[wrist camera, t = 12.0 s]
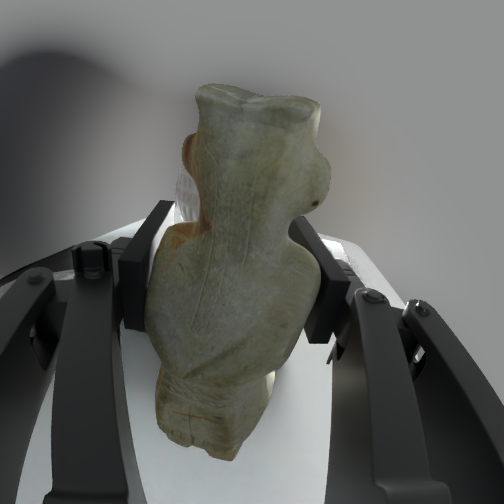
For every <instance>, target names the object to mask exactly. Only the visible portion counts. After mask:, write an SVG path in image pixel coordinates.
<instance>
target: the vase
mask: <svg viewBox="0 0 504 504" xmlns="http://www.w3.org/2000/svg"><path fill="white" fill-rule="evenodd" d="M176 203H177V207H178V211H179V214H180V217H181V219H182V221H183V222H193V221H198V218H199V211H200V199H199V193H198V190H197V186H196V184H195V181H194V180H193V178H192V177H191V176H190V175H189V174H188V172H187V171H186V169H185V167H184V165H183V164H182V166H181V169H180V171H179V174H178V179H177V184H176Z"/></svg>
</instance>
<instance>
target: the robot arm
mask: <svg viewBox="0 0 504 504" xmlns="http://www.w3.org/2000/svg"><path fill="white" fill-rule="evenodd" d="M174 209H175V201H165V200H160V201H159V203H158V204H157V205H156V207H155V208H154V209H153V211H152V212H151V213H150V215H149V216H148V217H147V219H146V220H145V221H144V223H143V224H142V226H141V227H140V228H139V230H138V231H137V232H136V234H135V235H134V237H133V238H127V237H120V238H118V239H116V240H114V241H113V242H112V243H111V244H110V245H109V244H108V243H106V242H102V241H86V242H83V243H80V244H78V245H76V246H74V248H73V249H72V258H73V266H74V273H75V275H74V278H73V279H69V280H54V277H53V272H52V271H51V270H50V269H49V268H45V267H35V268H30V269H29V270H27V271H25V272H24V273H22V274H21V275H20V276H19V277H18V278H17V280H16V281H15V282H14V283H13V284H12V285H11V287H10V288H9V289H8V290H7V291H6V292H5V294H4V295H3V296H2V297H1V299H0V504H15V502H16V497H17V491H18V486H19V481H20V477H21V473H22V468H23V464H24V460H25V457H26V453H27V449H28V446H29V442H30V439H31V435H32V432H33V429H34V426H35V423H36V420H37V417H38V414H39V411H40V408H41V405H42V402H43V400H44V397H45V394H46V392H47V389H48V386H49V384H50V381H51V379H52V376H53V374H54V371H55V369H56V372H55V381H54V391H53V404H52V425H51V460H52V479H53V483H52V490H51V491H50V492H49V493H48V494H46V495H45V497H44V500H43V504H147V502H146V498H145V494H144V490H143V487H142V482H141V478H140V474H139V470H138V465H137V460H136V455H135V450H134V445H133V439H132V434H131V428H130V421H129V415H128V407H127V400H126V391H125V382H124V371H123V359H122V344H121V332H120V323H121V321H122V318H123V320H124V327H125V329H129V330H136V331H143V332H145V330H146V327H145V322H144V307H145V300H146V295H147V290H148V284H149V279H150V276H151V271H152V265H153V259H154V255H155V253H156V250H157V248H158V246H159V244H160V241H161V239H162V237H163V235H164V233H165V231H166V229H167V228H168V227H169V226H172V225H174ZM288 236H289V238H290V239H291V240H292V241H293V242H295V243H297V244H299V245H300V246H302V247H304V248H305V249H306V250H308V251H309V252H310V253H311V254H312V255H313V256H314V257H315V258H316V260H317V262H318V264H319V266H320V271H321V285H320V290H319V293H318V296H317V298H316V301H315V303H314V306H313V308H312V310H311V311H310V313H309V315H308V318H307V320H306V322H305V325H304V330H305V333H306V336H307V339H308V342H309V344H328V342H329V340H330V337H331V335H332V332H334V335H335V337H336V341H335V344H334V346H333V348H332V351H331V353H330V355H329V358H328V360H327V363H326V364H329V363H330V361H331V360H332V359H333V366H332V413H331V434H330V449H329V463H328V474H327V485H326V494H325V503H324V504H504V405H503V404H502V402H501V401H500V399H499V397H498V396H497V394H496V393H495V391H494V389H493V388H492V386H491V385H490V383H489V382H488V380H487V379H486V377H485V376H484V374H483V373H482V372H481V370H480V369H479V367H478V366H477V364H476V363H475V362H474V360H473V359H472V357H471V356H470V354H469V353H468V352H467V350H466V349H465V348H464V346H463V345H462V344H461V342H460V341H459V340H458V338H457V337H456V336H455V335H454V333H453V332H452V330H451V329H450V328H449V327H448V325H447V324H446V323H445V321H444V320H443V319H442V318H441V316H440V315H439V314H438V313H437V311H436V310H435V309H434V308H433V307H432V306H430V305H429V304H428V303H427V302H425V301H424V302H423V301H422V300H416V299H414V300H410V301H408V303H407V305H406V307H405V309H399V308H395V307H391V306H390V304H389V301H388V299H387V298H386V297H385V296H384V295H383V294H382V293H380V292H378V291H376V290H374V289H370V288H366V287H365V286H364V285H363V283H362V282H361V281H360V279H359V278H358V276H356V274H355V272H354V271H353V270H352V268H351V267H350V266H349V264H347V263H346V262H345V261H343V260H342V259H340V258H334V256H333V255H332V254H331V252H330V251H329V250H328V248H327V247H326V245H325V244H324V243H323V241H322V240H321V239H320V237H319V236H318V234H317V233H316V232H315V230H314V229H313V228H312V226H311V225H310V224H309V222H308V221H307V220H306V218H305V217H304V216H298V217H296V218H295V219H293V220H292V222H291V223H290V225H289V228H288ZM31 328H32V330H33V331H32V332H31V334H30V331H31ZM421 347H422V348H423V350H424V351H425V353H424V354H423V356H422V358H421V359H420V361H419V362H418V361H417V360H416V358H415V356H416V354H417V353H418V351H419V349H420V348H421Z"/></svg>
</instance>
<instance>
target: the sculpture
mask: <svg viewBox="0 0 504 504" xmlns="http://www.w3.org/2000/svg"><path fill="white" fill-rule="evenodd" d="M195 97H196V98H195V99H196V102H197V105H198V109H199V124H198V130H197V133H194V134H191V135H189V136H188V137H187V138H186V139H185V140H184V143H183V147H182V161H183V165H184V167H185V169H186V171H187V172H188V174H189V175H190V176H191V177H192V178H193V180H194V181H195V184H196V186H197V190H198V193H199V199H200V211H199V218H198V221H193V222H183V223H178V224H175V225H172V226H169V227H168V228H167V229H166V231H165V233H164V235H163V237H162V239H161V241H160V244H159V246H158V248H157V250H156V253H155V255H154V259H153V265H152V271H151V276H150V279H149V284H148V290H147V295H146V300H145V307H144V322H145V327H146V330H147V333H148V336H149V339H150V341H151V343H152V345H153V347H154V349H155V351H156V352H157V354H158V356H159V358H160V359H161V361H162V365H161V367H160V370H159V374H158V378H157V382H156V391H155V411H156V419H157V424H158V426H159V428H160V429H161V430H162V431H163V432H164V433H166V435H167V437H168V438H169V439H170V440H171V441H173V442H175V443H177V444H179V445H181V446H184V447H189V446H191V445H193V446H196V447H199V448H202V449H205V450H206V452H207V453H208V454H209V456H211V457H213V458H217V459H221V460H226V461H232V460H233V459H234V458H235V457H236V455H237V453H238V451H239V449H240V447H241V445H242V443H243V442H244V441H245V439H246V438H247V437H248V436H249V435H250V434H251V432H252V431H253V430H254V428H255V427H256V425H257V423H258V422H259V420H260V418H261V416H262V414H263V412H264V410H265V409H266V406H267V404H268V401H269V399H270V395H271V392H272V389H273V385H274V379H275V370H277V369H278V368H280V367H281V366H282V365H283V364H284V363H285V362H286V361H287V359H288V358H289V356H290V354H291V352H292V350H293V349H294V347H295V345H296V343H297V341H298V338H299V336H300V334H301V332H302V329H303V327H304V325H305V322H306V320H307V318H308V315H309V313H310V311H311V310H312V308H313V306H314V303H315V301H316V298H317V296H318V293H319V290H320V285H321V271H320V266H319V264H318V262H317V260H316V258H315V257H314V256H313V255H312V254H311V253H310V252H309V251H308V250H306V249H305V248H304V247H302V246H300V245H299V244H297V243H295V242H293V241H292V240H291V239H290V238H289V236H288V228H289V225H290V223H291V222H292V220H293V219H295V218H296V217H298V216H301V215H304V214H308V213H309V212H311V211H313V210H314V209H316V208H317V207H318V206H319V205H321V204H322V202H323V201H324V199H325V198H326V196H327V193H328V191H329V184H330V180H331V167H330V164H329V162H328V160H327V159H326V158H325V157H324V156H323V155H322V154H321V153H320V152H319V150H318V147H317V129H318V125H319V120H320V111H321V108H320V105H319V104H318V103H317V102H316V101H313V100H311V99H308V98H305V97H300V96H263V95H259V94H256V93H253V92H250V91H247V90H244V89H241V88H238V87H235V86H229V85H223V84H209V85H204V86H202V87H200V88H199V89H198V90H197V92H196V95H195Z"/></svg>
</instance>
